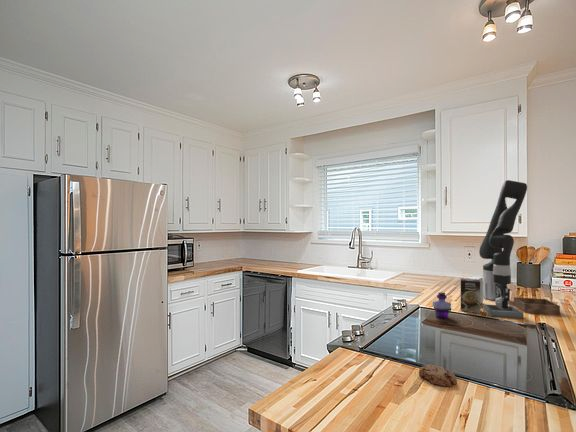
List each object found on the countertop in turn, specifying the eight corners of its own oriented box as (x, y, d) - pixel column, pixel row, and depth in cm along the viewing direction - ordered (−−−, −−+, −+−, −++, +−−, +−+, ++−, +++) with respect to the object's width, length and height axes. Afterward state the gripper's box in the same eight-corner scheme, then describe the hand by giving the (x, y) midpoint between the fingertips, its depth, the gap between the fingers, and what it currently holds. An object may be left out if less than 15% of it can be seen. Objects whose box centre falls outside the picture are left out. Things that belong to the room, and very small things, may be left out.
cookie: (424, 368, 103) (424, 358, 103) (461, 378, 96) (460, 368, 96) (413, 380, 95) (413, 369, 95) (452, 392, 88) (452, 381, 88)
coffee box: (460, 311, 168) (460, 280, 168) (460, 308, 173) (460, 278, 174) (480, 313, 163) (480, 281, 164) (480, 310, 169) (479, 279, 170)
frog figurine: (504, 311, 158) (503, 297, 158) (491, 308, 165) (491, 294, 165) (513, 310, 160) (513, 296, 160) (501, 307, 167) (500, 293, 167)
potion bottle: (454, 320, 152) (454, 294, 152) (434, 319, 154) (434, 294, 154) (449, 315, 160) (448, 291, 161) (430, 314, 162) (430, 290, 162)
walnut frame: (524, 312, 164) (524, 303, 164) (513, 305, 178) (513, 297, 178) (560, 314, 160) (559, 305, 160) (546, 307, 174) (545, 299, 174)
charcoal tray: (491, 316, 158) (491, 311, 158) (483, 309, 171) (483, 304, 171) (523, 318, 154) (523, 313, 154) (513, 311, 167) (512, 306, 167)
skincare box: (472, 301, 188) (471, 276, 188) (483, 303, 183) (483, 277, 183) (466, 303, 182) (465, 277, 183) (477, 305, 178) (477, 279, 178)
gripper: (489, 271, 171) (489, 302, 170) (498, 275, 157) (498, 309, 157) (505, 271, 168) (506, 303, 168) (515, 276, 155) (516, 310, 154)
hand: (502, 306), depth 162 cm, fingers closed on frog figurine, 6 cm apart
